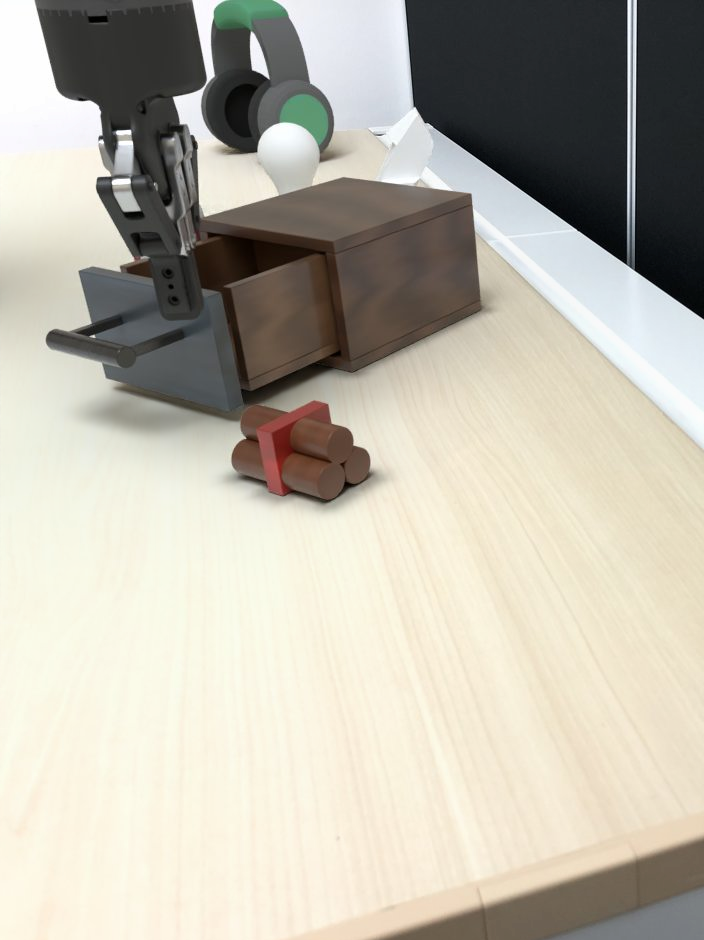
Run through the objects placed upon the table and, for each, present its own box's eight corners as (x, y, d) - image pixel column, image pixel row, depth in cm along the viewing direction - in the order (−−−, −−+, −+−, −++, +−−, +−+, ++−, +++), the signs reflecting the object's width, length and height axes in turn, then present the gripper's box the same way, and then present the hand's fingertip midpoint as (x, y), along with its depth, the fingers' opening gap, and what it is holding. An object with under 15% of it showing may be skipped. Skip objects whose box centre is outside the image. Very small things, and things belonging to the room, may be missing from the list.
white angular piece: (356, 285, 99) (334, 128, 93) (353, 244, 111) (334, 103, 105) (450, 277, 101) (435, 122, 95) (437, 238, 113) (423, 98, 107)
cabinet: (352, 372, 81) (333, 241, 76) (221, 342, 87) (196, 218, 83) (482, 309, 93) (471, 193, 89) (358, 286, 99) (343, 176, 95)
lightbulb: (313, 219, 121) (297, 115, 116) (341, 229, 117) (325, 122, 112) (261, 230, 117) (242, 123, 112) (287, 241, 113) (269, 130, 108)
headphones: (346, 159, 149) (324, -2, 140) (273, 172, 142) (245, 4, 133) (273, 141, 161) (249, -7, 152) (203, 153, 154) (173, -2, 145)
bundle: (233, 481, 66) (220, 418, 64) (289, 451, 69) (279, 391, 68) (320, 507, 63) (308, 443, 61) (374, 474, 66) (365, 412, 64)
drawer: (165, 442, 69) (136, 322, 65) (38, 404, 74) (5, 291, 70) (379, 342, 84) (366, 240, 80) (260, 317, 89) (243, 220, 86)
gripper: (76, -9, 62) (145, 286, 70) (-9, 9, 51) (85, 361, 59) (213, -13, 63) (266, 279, 71) (160, 5, 52) (230, 351, 60)
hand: (184, 316), depth 65 cm, fingers closed
